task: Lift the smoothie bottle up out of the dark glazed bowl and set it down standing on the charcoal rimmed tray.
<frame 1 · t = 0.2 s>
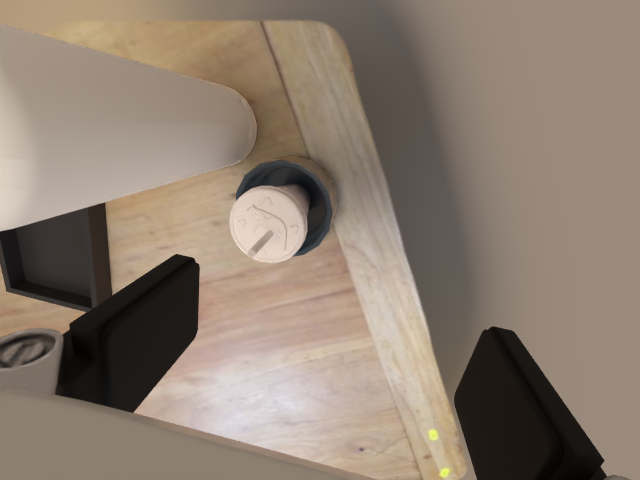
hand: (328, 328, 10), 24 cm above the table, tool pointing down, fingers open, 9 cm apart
bottle: (221, 127, 33), on the table
tray: (61, 240, 41), on the table
smoothie: (294, 200, 34), resting on bowl
bowl: (294, 199, 34), on the table
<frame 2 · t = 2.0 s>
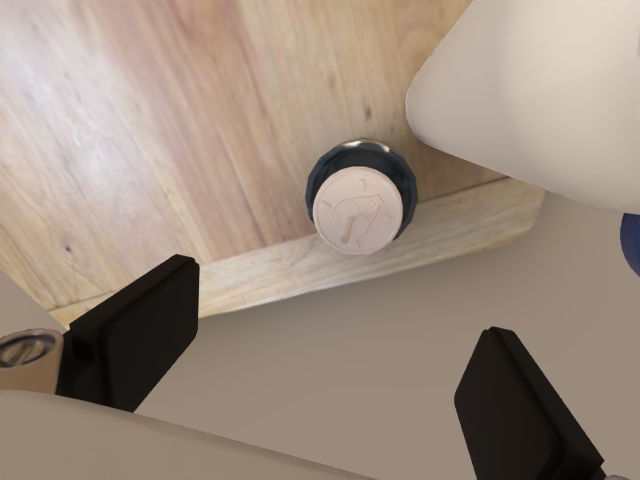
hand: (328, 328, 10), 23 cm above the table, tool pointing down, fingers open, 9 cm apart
bottle: (451, 102, 27), on the table
smoothie: (361, 188, 31), resting on bowl
bowl: (362, 188, 31), on the table
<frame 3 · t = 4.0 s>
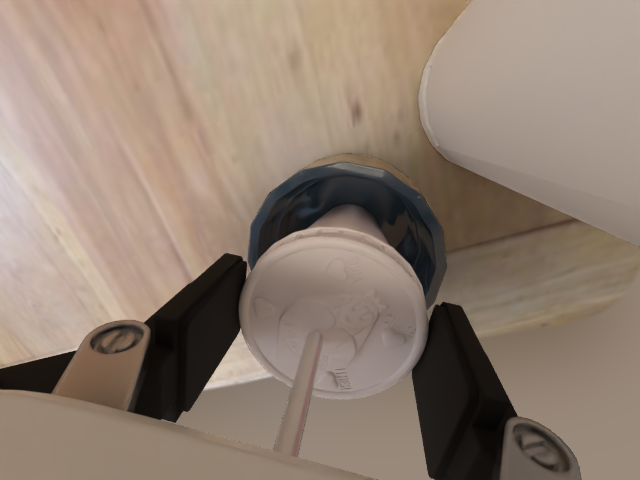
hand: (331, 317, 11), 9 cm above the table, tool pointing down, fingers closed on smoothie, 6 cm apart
bottle: (499, 91, 16), on the table
smoothie: (348, 232, 19), resting on bowl, touching gripper
bowl: (349, 231, 20), on the table
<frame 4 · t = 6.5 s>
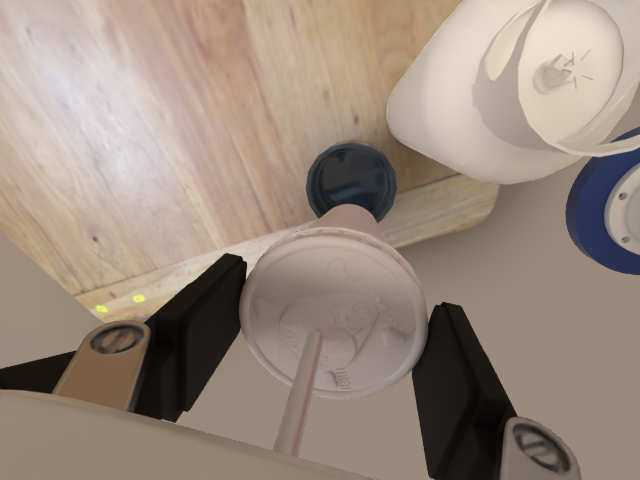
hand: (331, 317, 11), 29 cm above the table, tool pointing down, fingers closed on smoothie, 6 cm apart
bottle: (423, 110, 34), on the table
smoothie: (348, 232, 19), point 19 cm above the table, touching gripper
bowl: (352, 181, 37), on the table
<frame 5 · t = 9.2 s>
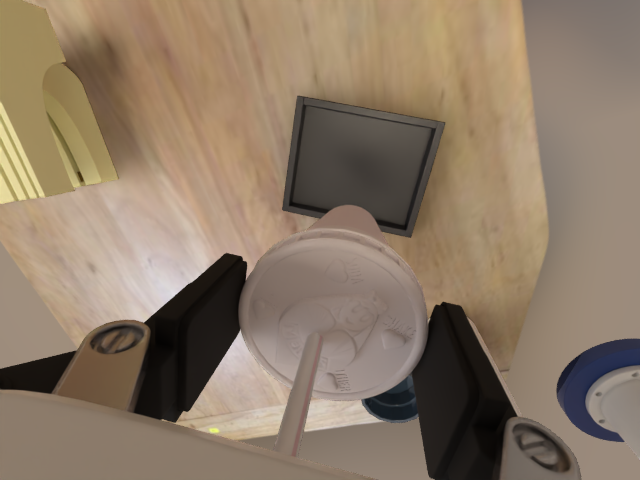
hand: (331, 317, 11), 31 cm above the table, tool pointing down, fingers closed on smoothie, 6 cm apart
bottle: (447, 334, 45), on the table
tray: (357, 167, 39), on the table
smoothie: (348, 233, 19), point 22 cm above the table, touching gripper
slatted curved stool: (58, 129, 44), on the table
bowl: (391, 372, 49), on the table
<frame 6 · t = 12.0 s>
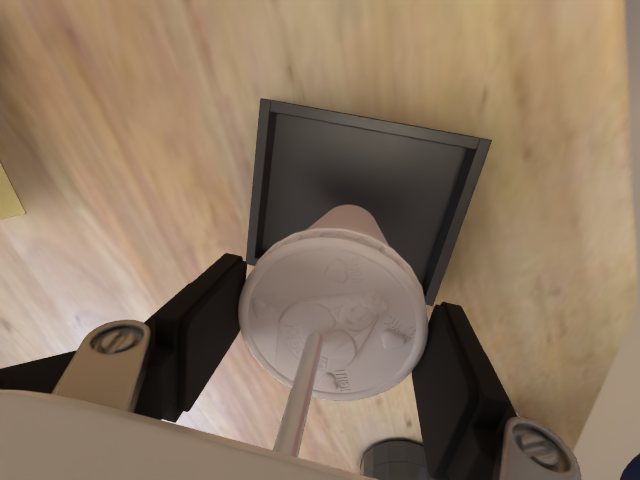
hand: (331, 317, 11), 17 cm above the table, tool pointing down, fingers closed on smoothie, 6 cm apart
tray: (354, 202, 27), on the table
smoothie: (348, 232, 19), point 8 cm above the table, touching gripper
bowl: (401, 466, 37), on the table
when the fingers open (10 cm above the table, at t = 14.3 s): smoothie stays where it is, resting on tray.
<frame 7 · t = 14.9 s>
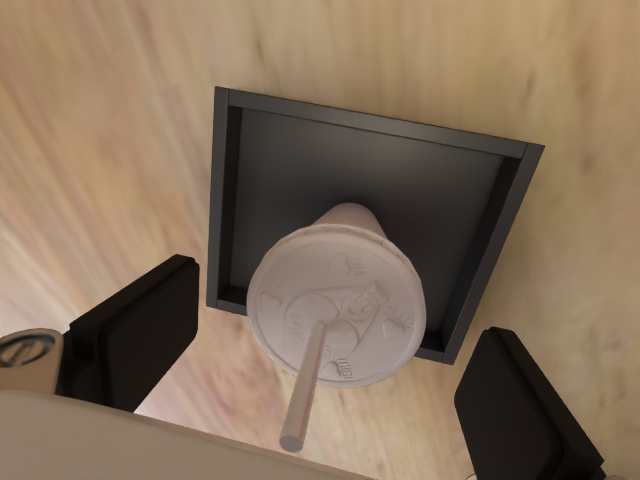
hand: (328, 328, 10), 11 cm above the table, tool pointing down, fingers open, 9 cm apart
tray: (348, 227, 20), on the table
smoothie: (349, 230, 20), resting on tray
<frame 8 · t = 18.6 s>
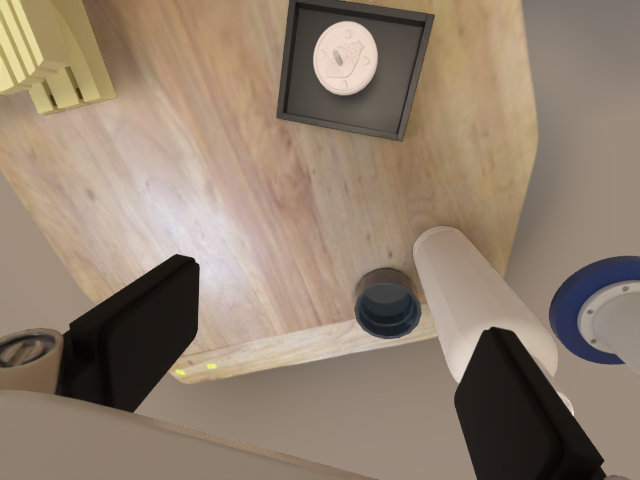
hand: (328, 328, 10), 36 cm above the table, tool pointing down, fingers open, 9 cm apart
bottle: (440, 251, 46), on the table
tray: (350, 73, 40), on the table
smoothie: (350, 74, 40), resting on tray
slatted curved stool: (57, 47, 44), on the table
bowl: (385, 294, 50), on the table
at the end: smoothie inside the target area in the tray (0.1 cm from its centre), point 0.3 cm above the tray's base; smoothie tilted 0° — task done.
